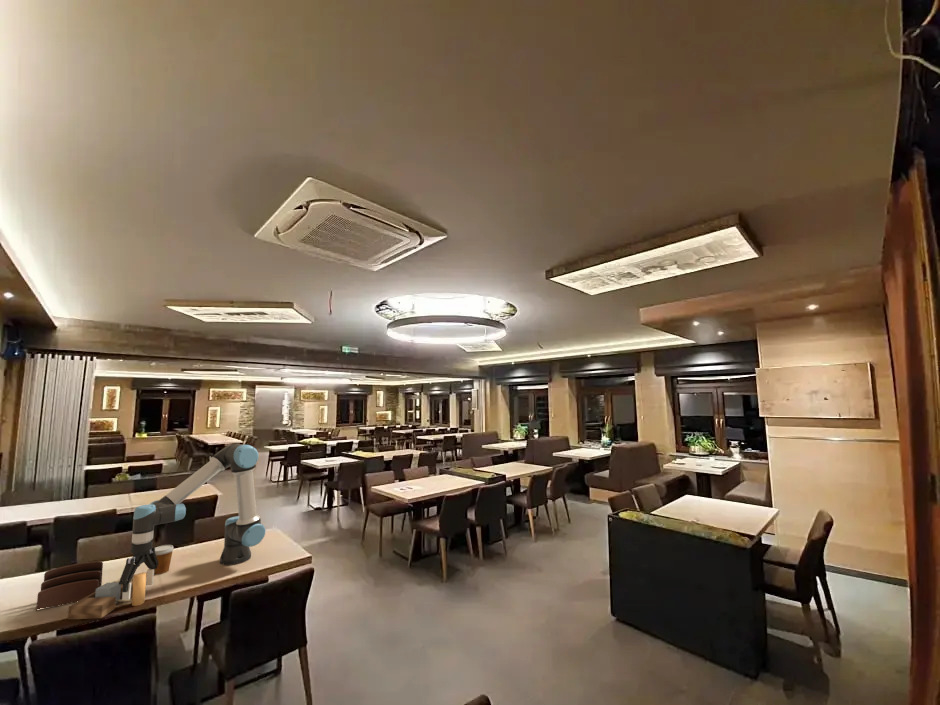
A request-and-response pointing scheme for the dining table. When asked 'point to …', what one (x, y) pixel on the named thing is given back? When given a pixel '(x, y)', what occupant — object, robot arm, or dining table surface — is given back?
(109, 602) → the cubby lane
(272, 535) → the dining table surface
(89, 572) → the letter holder
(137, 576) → the tethered block
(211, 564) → the dining table surface
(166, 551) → the disposable coffee cup
